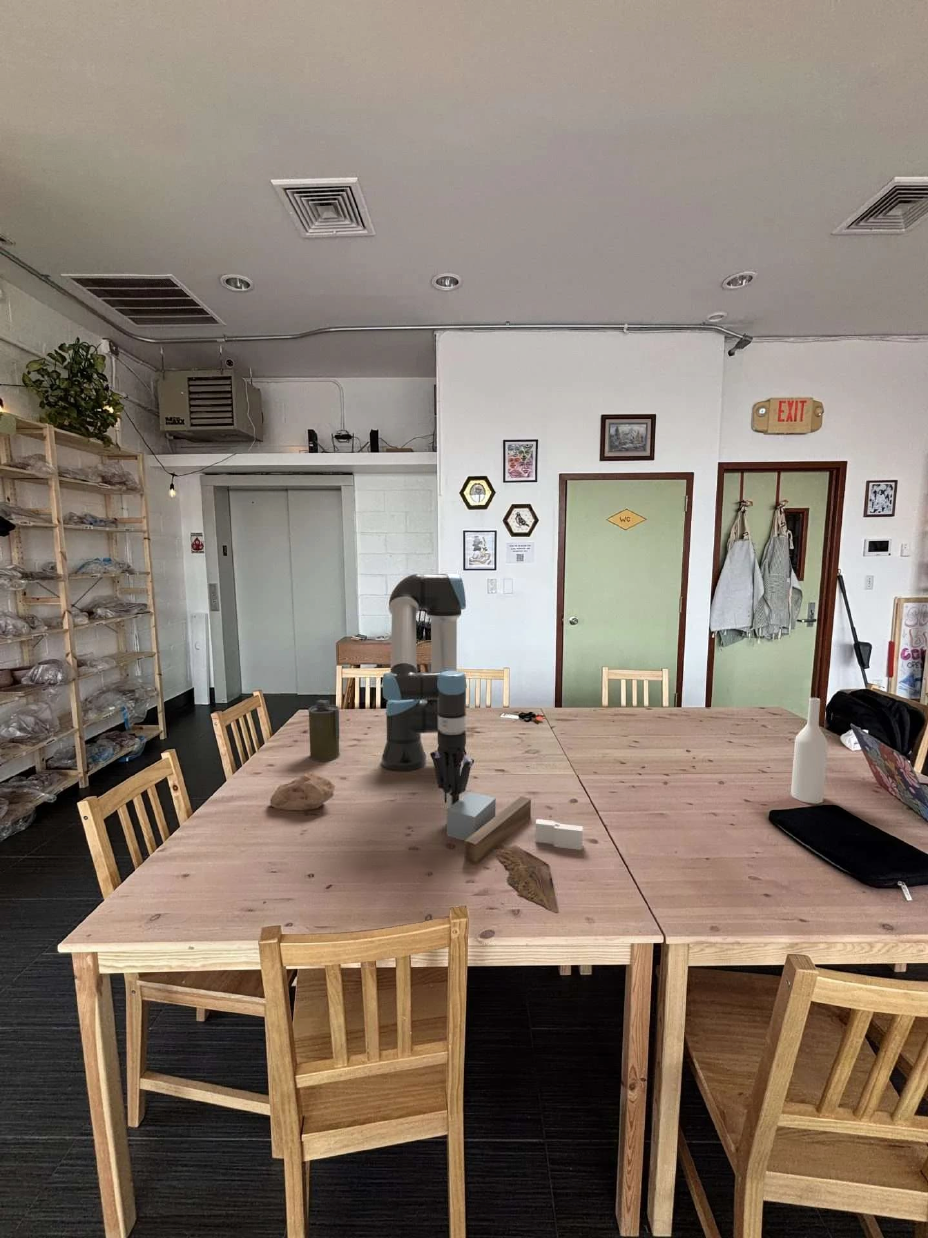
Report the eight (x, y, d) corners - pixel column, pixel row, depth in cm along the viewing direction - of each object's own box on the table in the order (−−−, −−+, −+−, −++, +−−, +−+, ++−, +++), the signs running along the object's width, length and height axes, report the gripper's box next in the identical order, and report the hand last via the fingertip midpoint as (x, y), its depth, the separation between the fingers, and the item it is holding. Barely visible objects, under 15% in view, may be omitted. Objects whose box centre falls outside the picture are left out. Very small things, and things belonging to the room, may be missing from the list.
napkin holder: (596, 849, 133) (596, 827, 132) (565, 865, 126) (565, 842, 125) (550, 825, 144) (550, 804, 144) (519, 839, 137) (520, 817, 137)
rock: (338, 798, 159) (337, 765, 158) (332, 813, 150) (331, 779, 148) (274, 799, 158) (273, 767, 157) (264, 816, 148) (263, 781, 147)
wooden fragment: (491, 849, 132) (491, 845, 132) (533, 844, 134) (533, 840, 134) (524, 919, 107) (525, 914, 107) (576, 911, 109) (576, 906, 109)
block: (446, 835, 138) (446, 809, 137) (469, 816, 149) (469, 791, 148) (474, 843, 134) (474, 817, 134) (495, 823, 145) (495, 798, 144)
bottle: (795, 789, 166) (802, 693, 162) (826, 797, 160) (834, 698, 156) (787, 797, 160) (795, 698, 156) (819, 806, 154) (827, 704, 151)
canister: (303, 759, 189) (301, 703, 187) (321, 749, 199) (320, 696, 196) (329, 763, 185) (327, 706, 183) (346, 753, 195) (345, 699, 192)
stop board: (464, 860, 127) (464, 840, 126) (520, 813, 150) (521, 796, 149) (475, 864, 125) (475, 844, 125) (530, 816, 148) (530, 799, 148)
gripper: (423, 729, 143) (424, 814, 146) (464, 739, 136) (463, 828, 139) (440, 722, 149) (440, 804, 152) (480, 731, 142) (479, 816, 145)
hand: (451, 815), depth 145 cm, fingers closed
